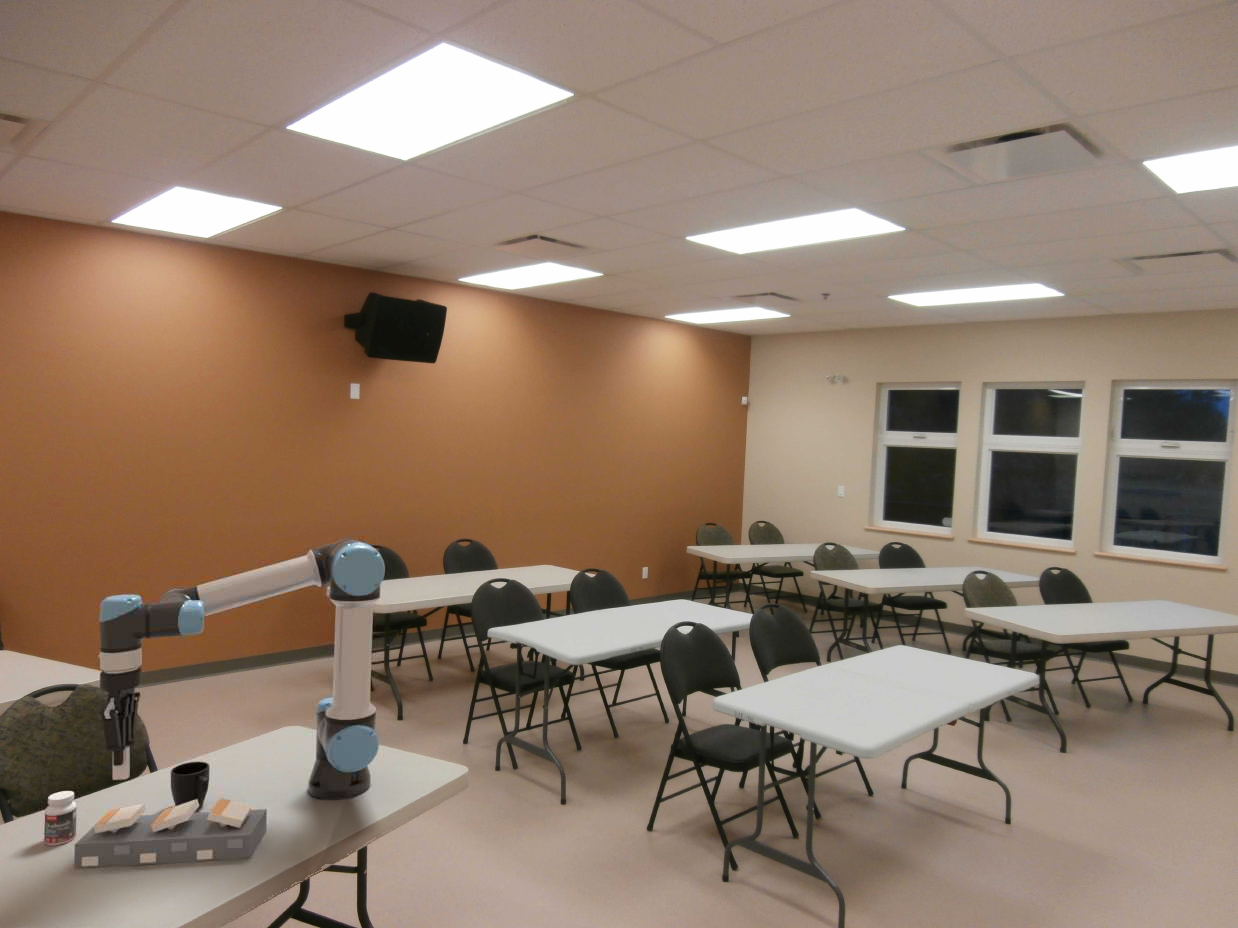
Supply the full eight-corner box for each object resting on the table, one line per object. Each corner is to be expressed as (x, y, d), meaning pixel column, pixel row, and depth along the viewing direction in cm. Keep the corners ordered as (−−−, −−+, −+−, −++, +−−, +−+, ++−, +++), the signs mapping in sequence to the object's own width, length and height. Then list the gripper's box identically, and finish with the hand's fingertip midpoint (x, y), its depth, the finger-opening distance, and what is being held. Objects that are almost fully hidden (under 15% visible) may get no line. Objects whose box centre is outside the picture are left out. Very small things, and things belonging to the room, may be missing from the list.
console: (266, 830, 178) (266, 806, 178) (250, 858, 166) (250, 832, 166) (102, 839, 172) (103, 814, 172) (73, 869, 160) (74, 842, 160)
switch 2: (200, 808, 173) (196, 798, 173) (188, 823, 166) (184, 812, 166) (168, 820, 172) (164, 809, 172) (154, 835, 165) (150, 824, 165)
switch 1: (146, 813, 172) (144, 802, 171) (131, 829, 165) (129, 817, 165) (111, 821, 170) (109, 809, 170) (95, 836, 164) (93, 825, 163)
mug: (185, 823, 181) (186, 782, 180) (164, 807, 188) (164, 768, 188) (222, 811, 187) (222, 771, 187) (200, 796, 195) (200, 758, 194)
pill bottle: (41, 848, 168) (42, 802, 168) (46, 836, 173) (47, 792, 173) (74, 842, 171) (74, 797, 171) (78, 831, 176) (78, 787, 176)
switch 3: (248, 816, 175) (252, 805, 175) (238, 831, 168) (242, 819, 168) (216, 807, 174) (220, 797, 174) (205, 822, 167) (209, 811, 167)
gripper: (116, 660, 173) (116, 766, 173) (85, 677, 160) (86, 792, 160) (153, 659, 174) (153, 764, 174) (125, 676, 161) (126, 790, 162)
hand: (121, 777), depth 167 cm, fingers closed
